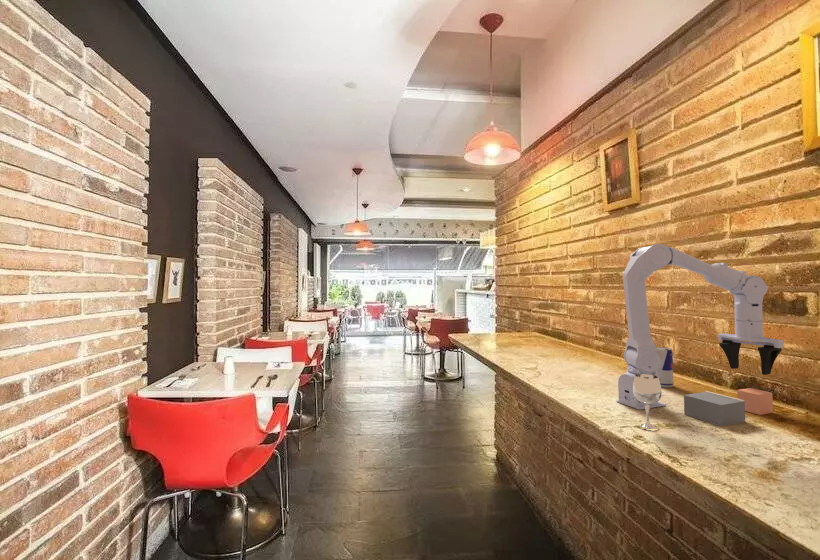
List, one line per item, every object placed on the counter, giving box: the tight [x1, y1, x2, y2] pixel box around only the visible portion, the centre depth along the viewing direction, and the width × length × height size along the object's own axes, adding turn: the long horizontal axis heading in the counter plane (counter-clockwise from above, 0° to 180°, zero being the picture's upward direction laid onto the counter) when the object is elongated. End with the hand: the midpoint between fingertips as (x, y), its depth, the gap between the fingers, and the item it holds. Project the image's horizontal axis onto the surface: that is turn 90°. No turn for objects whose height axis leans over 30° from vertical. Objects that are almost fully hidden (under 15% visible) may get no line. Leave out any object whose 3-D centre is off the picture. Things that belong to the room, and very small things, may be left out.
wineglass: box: [633, 374, 662, 429], centre depth 93 cm, size 6×6×12 cm
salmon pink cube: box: [736, 387, 774, 416], centre depth 103 cm, size 5×5×5 cm
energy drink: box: [656, 346, 674, 389], centre depth 129 cm, size 5×5×12 cm
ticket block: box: [683, 390, 746, 427], centre depth 99 cm, size 8×9×5 cm
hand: (749, 371), depth 107 cm, fingers open, 7 cm apart
